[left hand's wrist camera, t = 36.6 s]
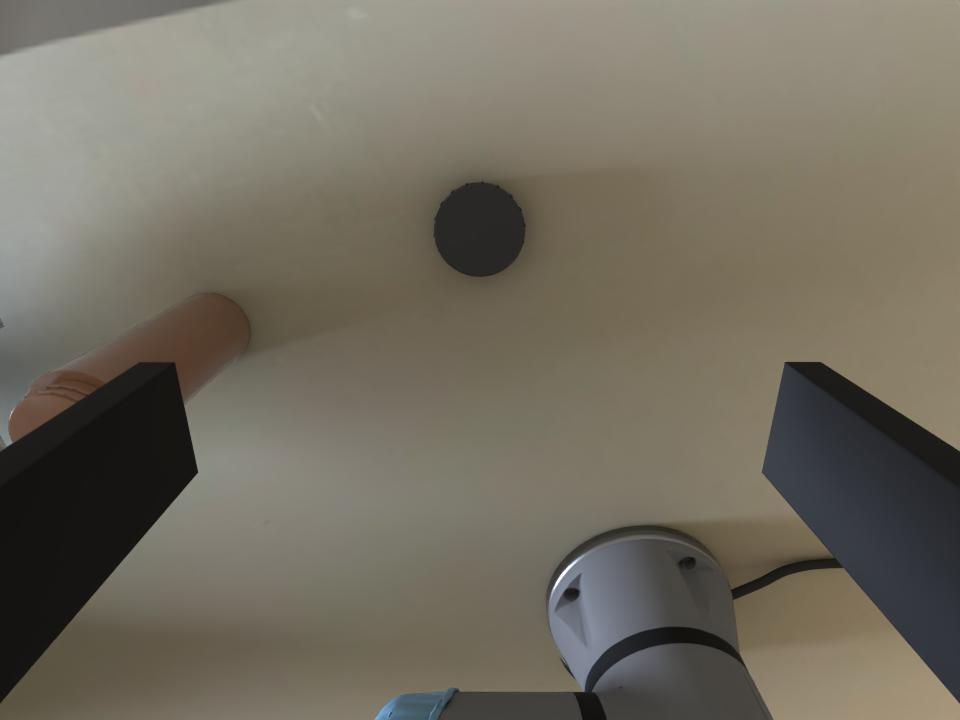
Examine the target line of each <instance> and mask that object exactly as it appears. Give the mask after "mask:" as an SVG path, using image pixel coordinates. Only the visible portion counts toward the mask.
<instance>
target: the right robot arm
mask: <svg viewBox="0 0 960 720" xmlns="http://www.w3.org/2000/svg"><path fill="white" fill-rule="evenodd" d="M3 327H4V325H3V323H2V321H1V319H0V328H3ZM6 447H7V446H6V445H5V443H4V441H3V439H2V437H1V435H0V451H2V450H3V449H5V448H6Z"/></svg>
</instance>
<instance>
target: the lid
mask: <svg viewBox="0 0 960 720" xmlns="http://www.w3.org/2000/svg"><path fill="white" fill-rule="evenodd" d="M440 205H441V207H440V209H439V211H438V213H437V216H436V217H435V219H434V220H435V225H434V237H435V242H436V245H437V248H438V251H439V252H440V254H441V256H442V257H443V259H444V260H445V261H446V262H447V263H448V264H449V265H450V266H451V267H452V268H454V269H455V270H457V271H459V272H461V273H463V274H466V275H470V276H477V277H482V276H489V275H493V274H496V273H498V272H500V271H502V270H504V269H505V268H507V267H508V266H509V265H510V264H511V263H512V262H513V261H514V260H515V259H516V257H517V256H518V254H519V252H520V250H521V248H522V245H523V243H524V236H525V227H526V226H525V224H524V219H523V216H522V213H521V211H522V210H521V208H520V207H518V205H517V204H516V202H515V201H514V199H513V198H512V195H511V194H510V195H509V194H508V193H507V192H506V191H504V190H503V189H501V188H499V186H498V185H497V186H495V185H492V184H488V183H484V182H483V181H482V183H471V184H468V183H466V185H464V186H462V187H460V188H458V189H456V190H455V191H454V190H453V191H452V192H451V194H450V195H449V196H448V197H447V198H446V199H445V201H444V202H442V203H441V204H440Z"/></svg>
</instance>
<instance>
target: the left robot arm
mask: <svg viewBox="0 0 960 720" xmlns="http://www.w3.org/2000/svg"><path fill="white" fill-rule="evenodd" d="M197 473H198V470H197V465H196V460H195V455H194V450H193V446H192V441H191V436H190V431H189V426H188V422H187V417H186V412H185V407H184V403H183V398H182V393H181V388H180V383H179V379H178V374H177V369H176V364H175V362H139V363H137V364H136V365H134V366H132V367H131V368H129V369H128V370H126V371H125V372H123V373H122V374H120V375H118V376H117V377H115V378H114V379H112V380H111V381H109V382H108V383H106V384H104V385H103V386H101V387H100V388H98V389H97V390H95V391H94V392H92V393H90V394H89V395H87V396H86V397H84V398H83V399H81V400H80V401H78V402H76V403H75V404H73V405H72V406H70V407H69V408H67V409H65V410H64V411H62V412H61V413H59V414H58V415H56V416H55V417H53V418H51V419H50V420H48V421H47V422H45V423H44V424H42V425H41V426H39V427H37V428H36V429H34V430H33V431H31V432H30V433H28V434H27V435H25V436H23V437H22V438H20V439H19V440H17V441H16V442H14V443H13V444H11V445H9V446H8V447H6V448H5V449H3V450H2V451H0V703H1V702H2V701H3V700H4V698H5V697H6V696H7V695H8V694H9V693H10V691H11V690H12V689H13V688H14V687H15V686H16V684H17V683H18V682H19V681H20V680H21V679H22V677H23V676H24V675H25V674H26V673H27V672H28V670H29V669H30V668H31V667H32V666H33V665H34V663H35V662H36V661H37V660H38V659H39V658H40V656H41V655H42V654H43V653H44V652H45V651H46V649H47V648H48V647H49V646H50V645H51V643H52V642H53V641H54V640H55V639H56V638H57V636H58V635H59V634H60V633H61V632H62V631H63V629H64V628H65V627H66V626H67V625H68V624H69V622H70V621H71V620H72V619H73V618H74V617H75V615H76V614H77V613H78V612H79V611H80V610H81V608H82V607H83V606H84V605H85V604H86V603H87V601H88V600H89V599H90V598H91V597H92V596H93V594H94V593H95V592H96V591H97V590H98V589H99V587H100V586H101V585H102V584H103V583H104V582H105V580H106V579H107V578H108V577H109V576H110V575H111V573H112V572H113V571H114V570H115V569H116V568H117V566H118V565H119V564H120V563H121V562H122V561H123V559H124V558H125V557H126V556H127V555H128V554H129V552H130V551H131V550H132V549H133V548H134V547H135V545H136V544H137V543H138V542H139V541H140V540H141V538H142V537H143V536H144V535H145V534H146V533H147V531H148V530H149V529H150V528H151V527H152V526H153V524H154V523H155V522H156V521H157V520H158V519H159V517H160V516H161V515H162V514H163V513H164V512H165V510H166V509H167V508H168V507H169V506H170V505H171V503H172V502H173V501H174V500H175V499H176V498H177V496H178V495H179V494H180V493H181V492H182V491H183V489H184V488H185V487H186V486H187V485H188V484H189V482H190V481H191V480H192V479H193V478H194V477H195V475H196V474H197ZM762 473H763V474H764V475H765V477H766V478H767V479H768V480H769V481H770V482H771V484H772V485H773V486H774V487H775V488H776V489H777V491H778V492H779V493H780V494H781V495H782V496H783V498H784V499H785V500H786V501H787V502H788V503H789V505H790V506H791V507H792V508H793V509H794V510H795V512H796V513H797V514H798V515H799V516H800V517H801V519H802V520H803V521H804V522H805V523H806V524H807V526H808V527H809V528H810V529H811V530H812V531H813V533H814V534H815V535H816V536H817V537H818V538H819V540H820V541H821V542H822V543H823V544H824V545H825V547H826V548H827V549H828V550H829V551H830V552H831V554H832V555H833V556H834V557H835V558H836V559H821V560H810V561H803V562H797V563H793V564H789V565H785V566H782V567H780V568H777V569H775V570H773V571H771V572H770V573H768V574H766V575H764V576H762V577H760V578H758V579H756V580H753V581H751V582H749V583H746V584H744V585H741V586H739V587H737V588H734V589H732V590H731V589H730V586H729V582H728V580H727V578H726V576H725V574H724V572H723V571H722V569H721V567H720V565H719V564H718V562H717V560H716V559H715V557H714V556H713V555H712V553H711V552H710V551H709V550H708V549H707V548H706V547H705V546H704V545H702V544H701V543H700V542H698V541H697V540H695V539H693V538H692V537H690V536H688V535H686V534H684V533H681V532H678V531H675V530H672V529H668V528H662V527H655V526H634V527H626V528H620V529H616V530H612V531H609V532H606V533H603V534H601V535H598V536H596V537H594V538H592V539H590V540H588V541H586V542H585V543H583V544H582V545H580V546H579V547H577V548H576V549H575V550H573V551H572V552H571V553H570V554H569V555H568V556H567V557H566V558H565V559H564V560H563V561H562V562H561V564H560V565H559V567H558V568H557V569H556V571H555V573H554V574H553V577H552V579H551V581H550V584H549V587H548V591H547V599H546V605H547V614H548V621H549V627H550V631H551V634H552V637H553V639H554V641H555V643H556V646H557V648H558V649H559V651H560V653H561V655H562V656H563V658H564V660H565V661H566V663H567V665H568V666H567V665H566V664H565V663H564V662H563V660H562V659H561V658H560V657H559V658H560V659H561V661H562V663H563V665H564V667H565V668H566V669H567V670H568V672H569V673H570V674H571V675H572V676H573V678H574V679H575V680H576V681H577V682H578V684H579V686H580V688H581V689H582V691H583V692H459V689H458V688H450V689H448V690H447V691H446V692H434V693H417V694H405V695H401V696H398V697H396V698H394V699H392V700H391V701H390V702H389V703H387V704H386V705H385V706H384V708H383V709H382V710H381V711H380V713H379V714H378V716H377V717H376V719H375V720H773V718H772V716H771V714H770V712H769V710H768V708H767V706H766V704H765V702H764V701H763V699H762V697H761V695H760V693H759V691H758V689H757V687H756V685H755V683H754V681H753V679H752V677H751V676H750V674H749V672H748V670H747V668H746V666H745V664H744V662H743V660H742V658H741V656H740V653H739V644H738V636H737V628H736V620H735V612H734V603H733V600H734V599H737V598H739V597H741V596H744V595H746V594H749V593H751V592H753V591H756V590H758V589H760V588H763V587H765V586H767V585H769V584H771V583H773V582H775V581H776V580H778V579H780V578H782V577H784V576H787V575H790V574H793V573H797V572H801V571H807V570H814V569H825V568H844V569H845V570H846V571H847V572H848V573H849V575H850V576H851V577H852V578H853V579H854V580H855V582H856V583H857V584H858V585H859V586H860V587H861V589H862V590H863V591H864V592H865V593H866V594H867V596H868V597H869V598H870V599H871V600H872V601H873V603H874V604H875V605H876V606H877V607H878V608H879V610H880V611H881V612H882V613H883V614H884V615H885V617H886V618H887V619H888V620H889V621H890V622H891V624H892V625H893V626H894V627H895V628H896V629H897V631H898V632H899V633H900V634H901V635H902V636H903V638H904V639H905V640H906V641H907V642H908V643H909V645H910V646H911V647H912V648H913V649H914V651H915V652H916V653H917V654H918V655H919V656H920V658H921V659H922V660H923V661H924V662H925V663H926V665H927V666H928V667H929V668H930V669H931V670H932V672H933V673H934V674H935V675H936V676H937V677H938V679H939V680H940V681H941V682H942V683H943V684H944V686H945V687H946V688H947V689H948V690H949V691H950V693H951V694H952V695H953V696H954V697H955V698H956V700H957V701H958V702H959V703H960V451H958V450H957V449H955V448H954V447H952V446H951V445H949V444H947V443H946V442H944V441H943V440H941V439H940V438H938V437H937V436H935V435H933V434H932V433H930V432H929V431H927V430H926V429H924V428H923V427H921V426H919V425H918V424H916V423H915V422H913V421H912V420H910V419H909V418H907V417H905V416H904V415H902V414H901V413H899V412H898V411H896V410H895V409H893V408H891V407H890V406H888V405H887V404H885V403H884V402H882V401H880V400H879V399H877V398H876V397H874V396H873V395H871V394H870V393H868V392H866V391H865V390H863V389H862V388H860V387H859V386H857V385H856V384H854V383H852V382H851V381H849V380H848V379H846V378H845V377H843V376H842V375H840V374H838V373H837V372H835V371H834V370H832V369H831V368H829V367H828V366H826V365H824V364H823V363H821V362H785V364H784V369H783V374H782V379H781V383H780V388H779V393H778V398H777V403H776V407H775V412H774V417H773V422H772V426H771V431H770V436H769V441H768V446H767V450H766V455H765V460H764V465H763V470H762ZM568 667H569V668H570V669H569V668H568Z"/></svg>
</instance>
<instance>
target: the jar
mask: <svg viewBox="0 0 960 720" xmlns="http://www.w3.org/2000/svg"><path fill="white" fill-rule="evenodd" d="M249 340H250V327H249V323H248V321H247V318H246V316H245V315H244V313H243V312H242V310H241V309H240V308H239V307H238V306H237V305H236V304H235V303H234V302H232V301H231V300H229V299H227V298H225V297H223V296H221V295H217V294H212V293H202V294H197V295H194V296H192V297H190V298H188V299H186V300H184V301H183V302H181V303H179V304H177V305H175V306H173V307H171V308H169V309H167V310H166V311H164V312H162V313H160V314H158V315H156V316H154V317H152V318H151V319H149V320H147V321H145V322H143V323H141V324H139V325H137V326H136V327H134V328H132V329H130V330H128V331H126V332H124V333H122V334H120V335H119V336H117V337H115V338H113V339H111V340H109V341H107V342H105V343H104V344H102V345H100V346H98V347H96V348H94V349H92V350H90V351H88V352H87V353H85V354H83V355H81V356H79V357H77V358H75V359H73V360H72V361H70V362H68V363H66V364H64V365H62V366H60V367H58V368H56V369H55V370H53V371H51V372H49V373H47V374H45V375H44V376H42V377H40V378H39V379H38V380H36V381H35V382H34V384H33V385H32V386H31V388H30V389H29V391H28V393H27V396H25V397H24V399H23V400H22V401H21V402H19V403H18V404H17V405H16V406H15V407H14V409H13V410H12V412H11V414H10V417H9V422H8V429H9V435H10V438H11V440H12V443H14V442H16V441H17V440H19V439H20V438H22V437H23V436H25V435H27V434H28V433H30V432H31V431H33V430H34V429H36V428H37V427H39V426H41V425H42V424H44V423H45V422H47V421H48V420H50V419H51V418H53V417H55V416H56V415H58V414H59V413H61V412H62V411H64V410H65V409H67V408H69V407H70V406H72V405H73V404H75V403H76V402H78V401H80V400H81V399H83V398H84V397H86V396H87V395H89V394H90V393H92V392H94V391H95V390H97V389H98V388H100V387H101V386H103V385H104V384H106V383H108V382H109V381H111V380H112V379H114V378H115V377H117V376H118V375H120V374H122V373H123V372H125V371H126V370H128V369H129V368H131V367H132V366H134V365H136V364H137V363H139V362H175V364H176V369H177V374H178V379H179V383H180V388H181V393H182V398H183V403H184V405H185V404H186V403H187V402H188V401H189V400H191V399H192V398H193V397H194V396H195V395H196V394H197V393H198V392H200V391H201V390H202V389H203V388H204V387H205V386H206V385H208V384H209V383H210V382H211V381H212V380H213V379H214V378H215V377H217V376H218V375H219V374H220V373H221V372H222V371H223V370H224V369H226V368H227V367H228V366H229V365H230V364H231V363H232V362H234V361H235V360H236V359H237V358H238V357H239V356H240V355H241V354H242V353H243V352H244V351H245V350H246V348H247V346H248V343H249Z"/></svg>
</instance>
